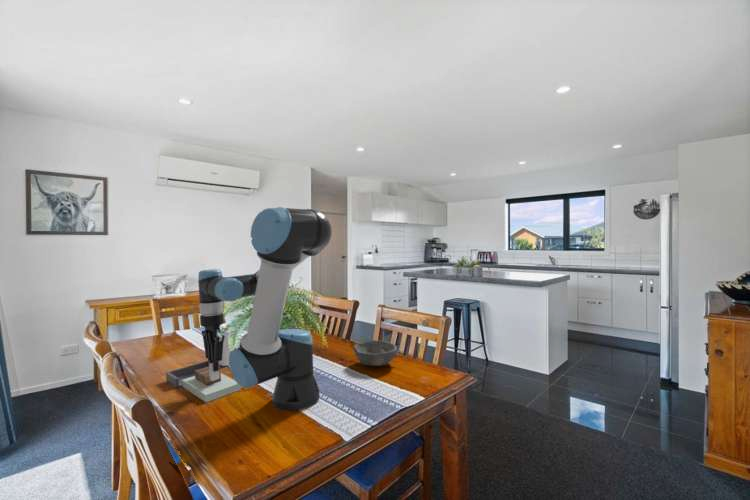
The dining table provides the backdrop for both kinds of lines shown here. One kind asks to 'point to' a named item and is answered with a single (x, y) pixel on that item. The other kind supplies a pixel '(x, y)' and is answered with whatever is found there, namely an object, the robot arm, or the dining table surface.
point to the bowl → (375, 352)
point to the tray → (184, 373)
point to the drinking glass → (225, 351)
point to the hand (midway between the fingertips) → (214, 379)
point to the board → (211, 388)
